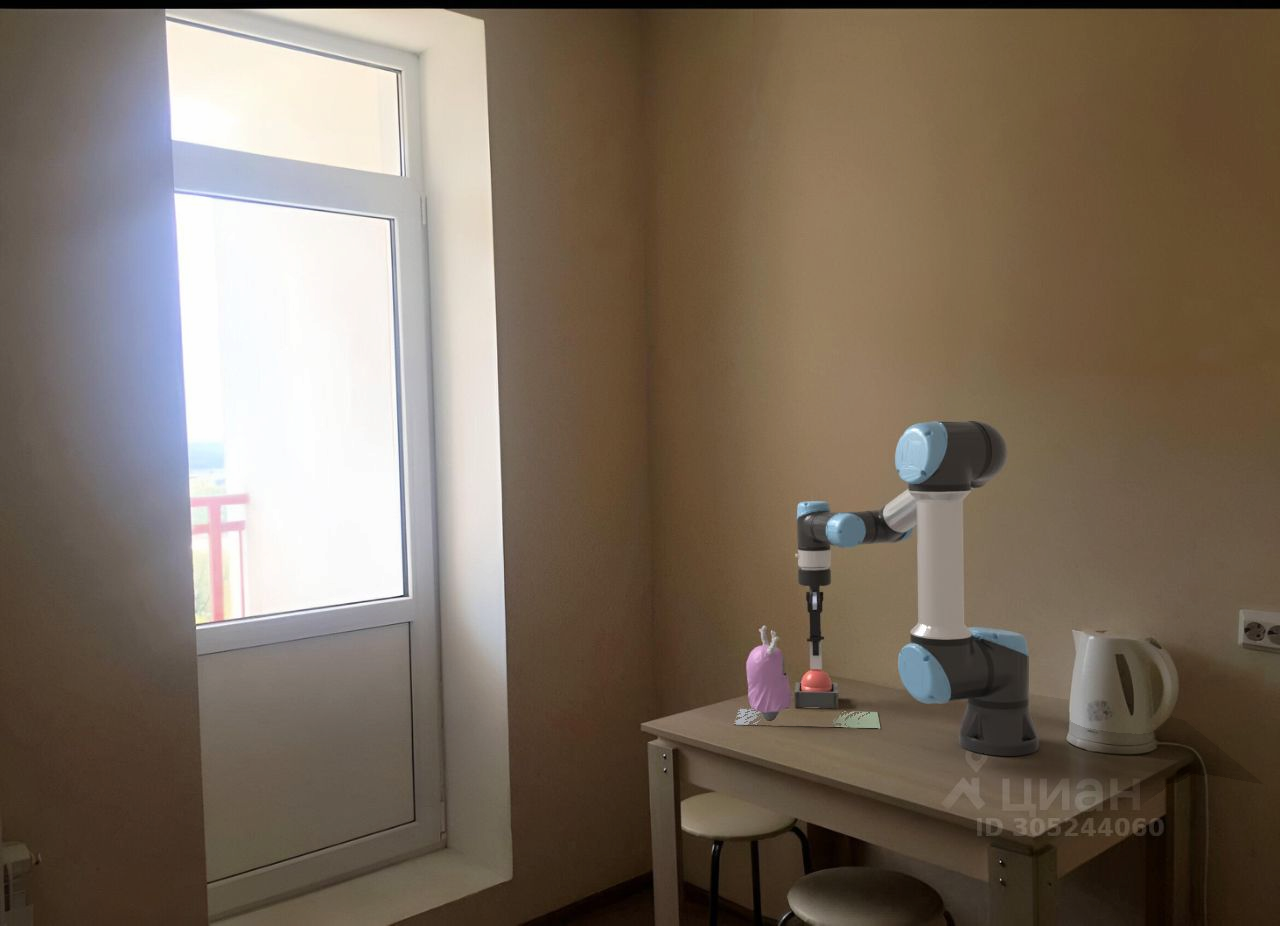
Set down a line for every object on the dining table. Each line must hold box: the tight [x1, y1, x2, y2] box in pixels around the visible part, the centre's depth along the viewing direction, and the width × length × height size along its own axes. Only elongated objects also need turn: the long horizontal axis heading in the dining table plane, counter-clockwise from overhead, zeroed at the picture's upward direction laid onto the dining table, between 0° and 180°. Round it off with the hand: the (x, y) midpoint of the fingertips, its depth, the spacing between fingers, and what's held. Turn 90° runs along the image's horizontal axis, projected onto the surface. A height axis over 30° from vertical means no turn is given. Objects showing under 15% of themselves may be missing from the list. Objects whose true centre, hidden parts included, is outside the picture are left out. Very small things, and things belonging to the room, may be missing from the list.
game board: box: [733, 708, 881, 730], centre depth 233 cm, size 13×31×1 cm, turn 80°
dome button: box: [800, 669, 833, 692], centre depth 246 cm, size 7×7×7 cm
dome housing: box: [794, 681, 839, 709], centre depth 246 cm, size 10×10×4 cm
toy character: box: [745, 625, 794, 721], centre depth 234 cm, size 12×10×20 cm
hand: (816, 668), depth 246 cm, fingers closed
